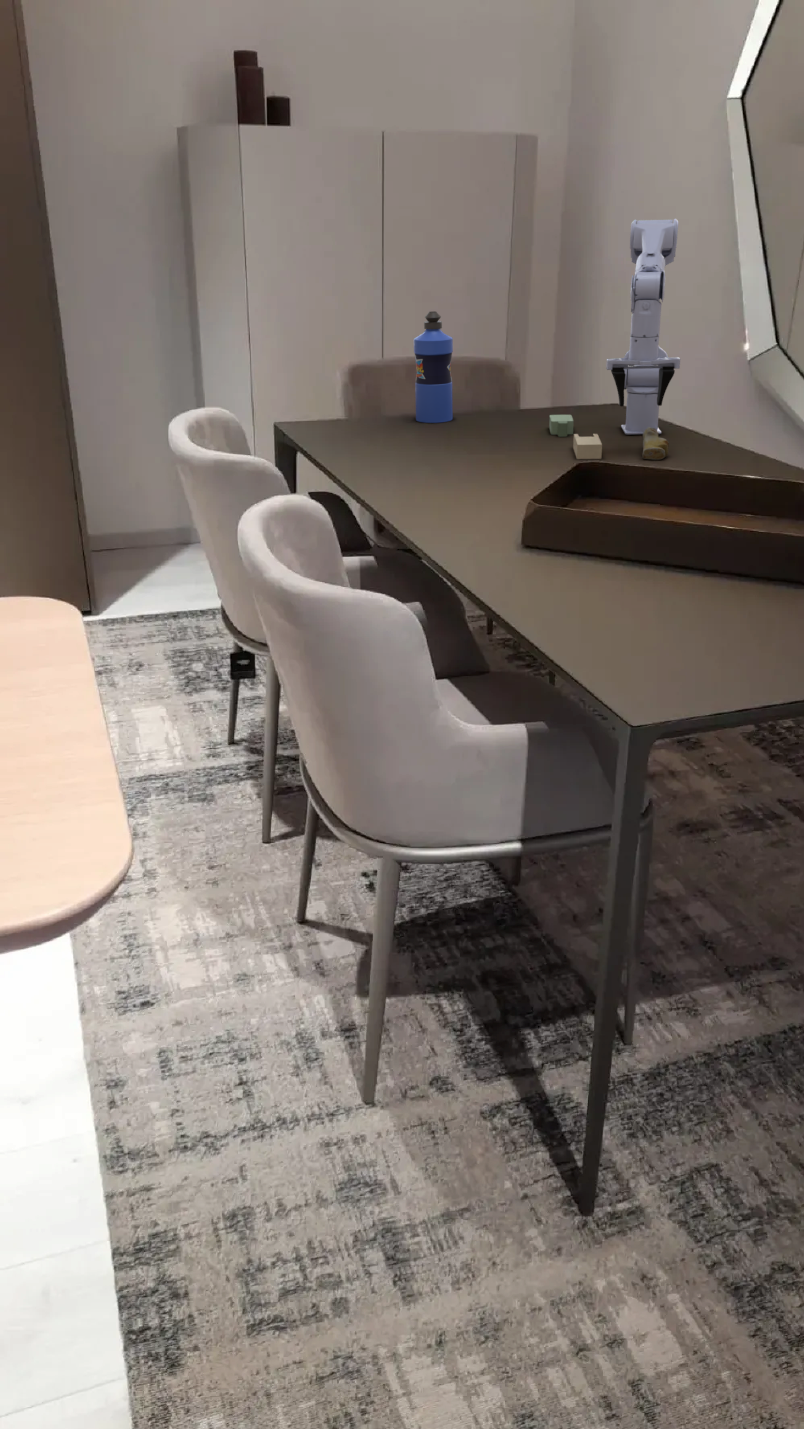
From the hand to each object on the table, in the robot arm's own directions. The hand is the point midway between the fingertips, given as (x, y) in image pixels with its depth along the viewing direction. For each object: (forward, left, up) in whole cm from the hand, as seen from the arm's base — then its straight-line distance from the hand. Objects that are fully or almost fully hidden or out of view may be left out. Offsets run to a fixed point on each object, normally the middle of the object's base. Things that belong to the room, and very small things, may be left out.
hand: (640, 405), depth 227 cm
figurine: (+1, +3, -10) cm, 10 cm away
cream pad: (+1, -11, -10) cm, 14 cm away
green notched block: (-23, -15, -10) cm, 29 cm away
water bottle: (-41, -45, -10) cm, 61 cm away
